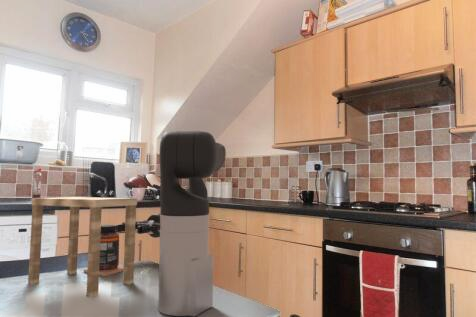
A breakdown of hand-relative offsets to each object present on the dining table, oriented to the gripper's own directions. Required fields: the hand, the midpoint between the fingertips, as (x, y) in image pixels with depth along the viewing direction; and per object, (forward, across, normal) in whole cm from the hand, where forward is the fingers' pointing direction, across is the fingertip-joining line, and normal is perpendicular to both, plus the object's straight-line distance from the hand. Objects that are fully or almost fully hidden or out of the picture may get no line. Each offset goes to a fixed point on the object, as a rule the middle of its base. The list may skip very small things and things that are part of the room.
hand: (127, 229), depth 96 cm
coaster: (+6, -1, +10) cm, 12 cm away
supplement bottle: (+6, -1, +10) cm, 12 cm away
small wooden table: (+17, +3, +11) cm, 21 cm away
